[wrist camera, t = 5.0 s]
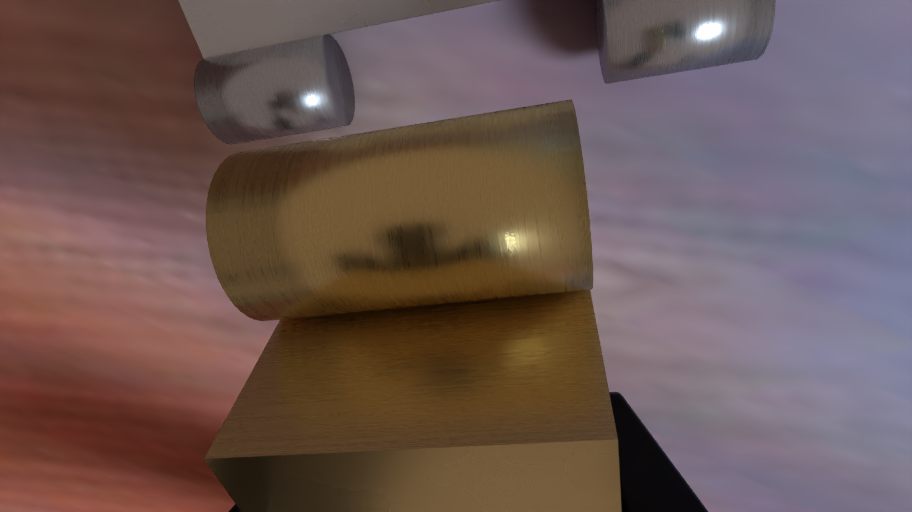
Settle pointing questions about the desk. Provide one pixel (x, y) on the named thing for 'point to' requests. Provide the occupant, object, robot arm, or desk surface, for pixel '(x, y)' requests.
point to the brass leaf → (417, 321)
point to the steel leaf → (370, 3)
